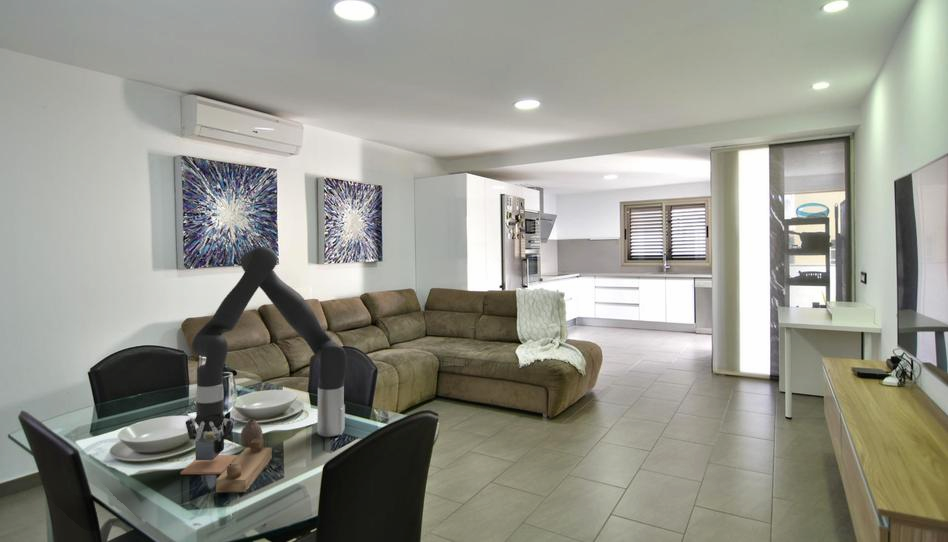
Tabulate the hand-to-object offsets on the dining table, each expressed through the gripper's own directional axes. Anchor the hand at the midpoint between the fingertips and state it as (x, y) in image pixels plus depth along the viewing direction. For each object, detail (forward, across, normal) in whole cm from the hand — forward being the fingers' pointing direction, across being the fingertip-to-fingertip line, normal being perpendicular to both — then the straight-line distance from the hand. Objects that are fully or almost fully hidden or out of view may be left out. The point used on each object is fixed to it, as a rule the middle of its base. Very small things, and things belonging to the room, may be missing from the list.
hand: (210, 451), depth 157 cm
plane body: (+4, -13, +6) cm, 15 cm away
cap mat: (+4, 0, 0) cm, 4 cm away
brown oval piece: (+4, -7, -15) cm, 17 cm away
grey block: (+1, 0, 0) cm, 1 cm away
